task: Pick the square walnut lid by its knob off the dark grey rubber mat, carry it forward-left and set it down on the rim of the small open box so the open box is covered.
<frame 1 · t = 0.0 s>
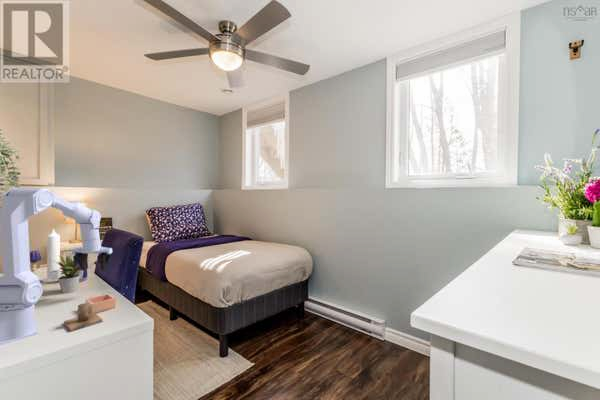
hand: (94, 269, 109), 11 cm above the table, tool pointing down, fingers open, 7 cm apart
house plant: (65, 291, 113), on the table
mat: (83, 323, 85), on the table
toy lamp: (33, 289, 114), on the table
open box: (100, 309, 96), on the table
lid: (83, 322, 85), resting on mat
energy drink: (80, 280, 127), on the table
candle: (53, 280, 126), on the table
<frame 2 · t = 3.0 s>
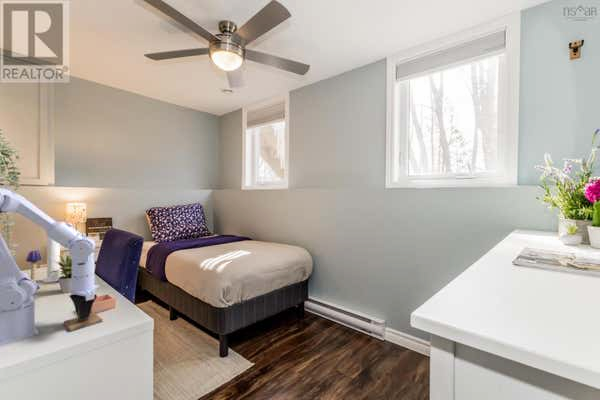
hand: (83, 316, 85), 2 cm above the table, tool pointing down, fingers closed on lid, 3 cm apart
lid: (83, 322, 85), resting on mat, touching gripper
everything else where it was.
when the fingers open (7 cm above the table, at t = 4.9 s): lid stays where it is, resting on open box.
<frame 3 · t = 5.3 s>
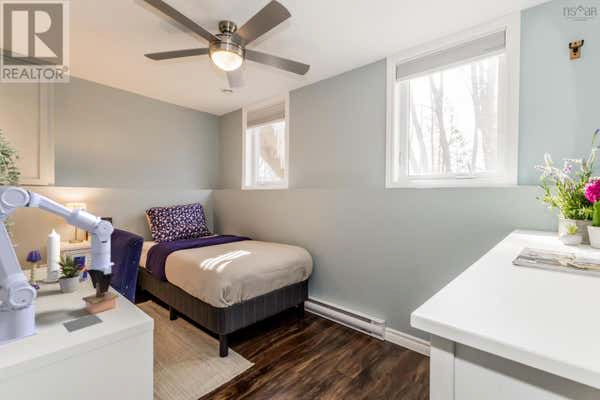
hand: (100, 289, 96), 7 cm above the table, tool pointing down, fingers open, 6 cm apart
lid: (100, 298, 96), point 4 cm above the table, touching open box
everything else where it was.
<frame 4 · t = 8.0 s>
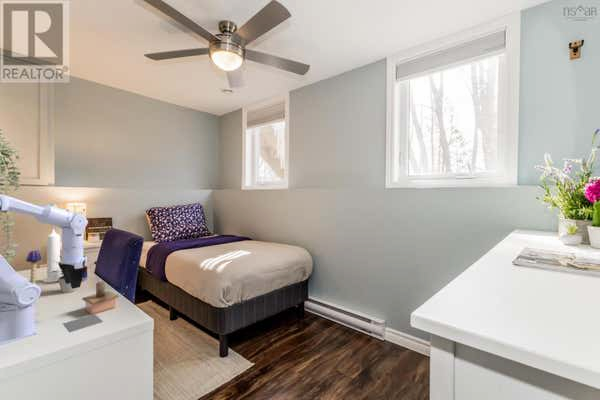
hand: (72, 285, 92), 10 cm above the table, tool pointing down, fingers open, 7 cm apart
nothing on the table moved.
at the end: lid 0.0 cm off-centre on the open box, point 4.0 cm above the open box's base; lid tilted 0°; the gripper is holding nothing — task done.
